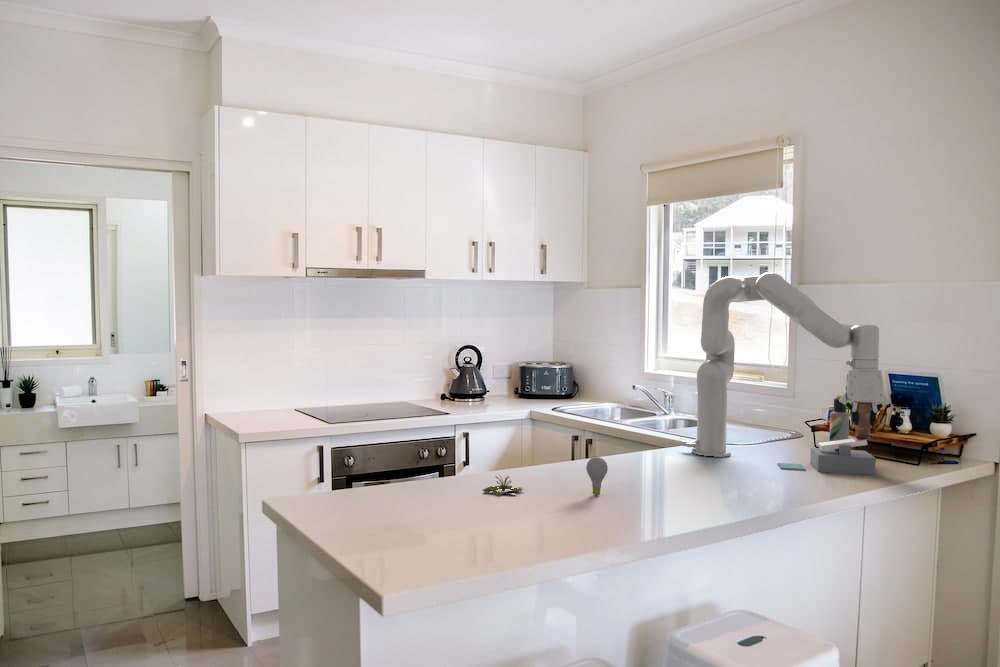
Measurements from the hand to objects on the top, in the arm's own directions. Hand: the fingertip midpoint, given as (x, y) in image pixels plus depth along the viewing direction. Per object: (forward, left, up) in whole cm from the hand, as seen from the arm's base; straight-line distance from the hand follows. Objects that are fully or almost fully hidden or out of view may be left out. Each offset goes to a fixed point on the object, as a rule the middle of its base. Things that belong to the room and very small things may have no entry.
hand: (863, 424), depth 229 cm
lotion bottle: (-3, +18, -14) cm, 23 cm away
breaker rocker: (-6, 0, -6) cm, 9 cm away
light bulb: (-77, -53, -14) cm, 94 cm away
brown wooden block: (0, 0, -4) cm, 4 cm away
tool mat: (-21, -2, -14) cm, 25 cm away
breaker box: (-6, 0, -14) cm, 15 cm away
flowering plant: (-101, -55, -15) cm, 116 cm away
